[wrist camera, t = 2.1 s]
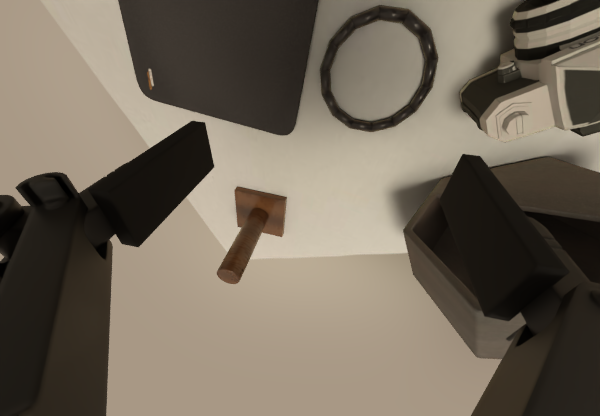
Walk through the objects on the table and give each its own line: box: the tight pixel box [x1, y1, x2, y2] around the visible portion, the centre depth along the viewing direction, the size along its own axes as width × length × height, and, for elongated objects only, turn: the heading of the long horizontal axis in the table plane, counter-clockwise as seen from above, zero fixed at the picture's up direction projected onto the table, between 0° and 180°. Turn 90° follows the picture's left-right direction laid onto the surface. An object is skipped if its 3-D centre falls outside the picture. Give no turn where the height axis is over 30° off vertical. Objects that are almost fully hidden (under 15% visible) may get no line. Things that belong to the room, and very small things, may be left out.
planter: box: [403, 157, 600, 359], centre depth 24 cm, size 17×8×21 cm
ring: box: [320, 5, 438, 132], centre depth 25 cm, size 11×11×1 cm
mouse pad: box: [118, 0, 318, 135], centre depth 24 cm, size 23×20×1 cm
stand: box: [217, 187, 287, 284], centre depth 36 cm, size 8×8×13 cm
